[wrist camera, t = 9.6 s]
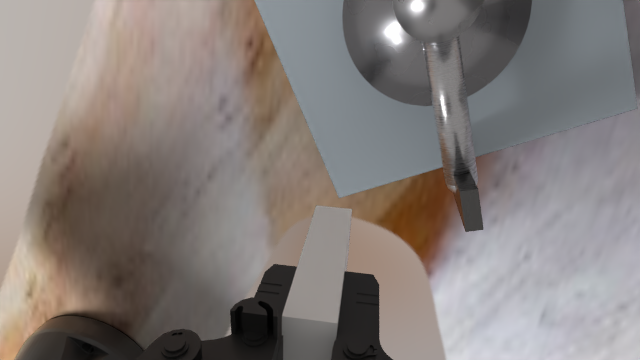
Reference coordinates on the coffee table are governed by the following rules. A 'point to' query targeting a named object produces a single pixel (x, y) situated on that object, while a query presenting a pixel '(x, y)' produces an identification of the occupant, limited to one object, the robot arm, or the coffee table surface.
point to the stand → (484, 106)
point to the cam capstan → (438, 67)
